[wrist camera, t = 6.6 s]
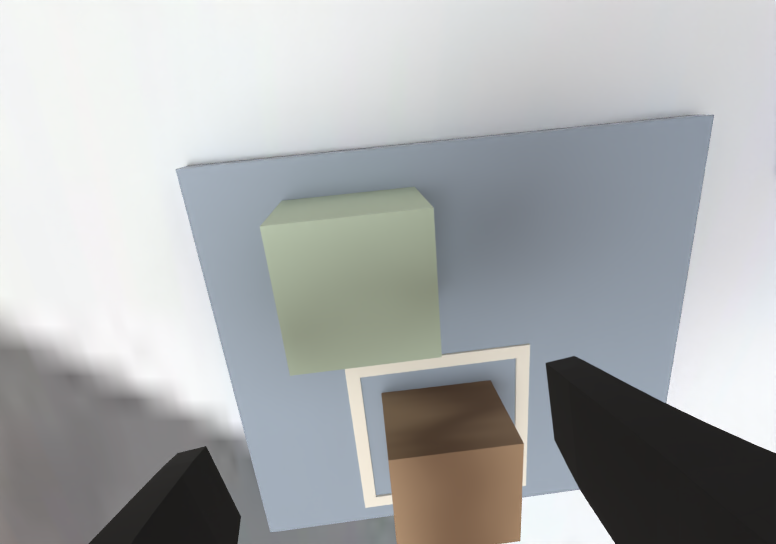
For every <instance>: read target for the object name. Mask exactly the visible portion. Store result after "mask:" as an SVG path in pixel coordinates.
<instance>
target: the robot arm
mask: <svg viewBox="0 0 776 544" xmlns="http://www.w3.org/2000/svg"><path fill="white" fill-rule="evenodd" d="M545 364H546V372H547V381H548V390H549V398H550V407H551V415H552V424H553V433H554V440H555V442H556V444H557V446H558V448H559V450H560V452H561V454H562V456H563V458H564V460H565V462H566V464H567V466H568V468H569V470H570V472H571V474H572V476H573V478H574V480H575V482H576V483H577V485H578V487H579V489H580V490H581V492H582V493H583V495H584V497H585V498H586V500H587V501H588V503H589V504H590V506H591V507H592V509H593V510H594V512H595V513H596V515H597V516H598V518H599V520H600V521H601V523H602V524H603V526H604V527H605V529H606V530H607V532H608V533H609V535H610V536H611V538H612V539H613V541H614V542H615V544H776V453H773V452H771V451H769V450H766V449H764V448H761V447H759V446H757V445H754V444H752V443H750V442H748V441H746V440H743V439H741V438H739V437H737V436H734V435H732V434H730V433H728V432H725V431H723V430H721V429H719V428H716V427H714V426H712V425H710V424H708V423H706V422H703V421H701V420H699V419H697V418H695V417H693V416H691V415H689V414H687V413H685V412H683V411H680V410H678V409H676V408H674V407H672V406H670V405H668V404H666V403H664V402H662V401H660V400H658V399H656V398H654V397H652V396H650V395H649V394H647V393H645V392H643V391H641V390H639V389H637V388H635V387H633V386H631V385H629V384H627V383H626V382H624V381H622V380H620V379H618V378H616V377H614V376H612V375H610V374H609V373H607V372H605V371H603V370H601V369H599V368H597V367H595V366H593V365H592V364H590V363H588V362H586V361H584V360H582V359H580V358H578V357H576V356H572V357H568V358H564V359H559V360H555V361H551V362H547V363H545ZM240 519H241V516H240V514H239V512H238V510H237V508H236V506H235V504H234V502H233V500H232V498H231V496H230V494H229V492H228V490H227V488H226V486H225V484H224V482H223V479H222V477H221V475H220V473H219V471H218V469H217V467H216V465H215V463H214V461H213V459H212V457H211V455H210V453H209V451H208V449H207V447H206V446H205V447H201V448H197V449H193V450H189V451H185V452H181V453H177V454H176V455H175V456H174V457H173V458H172V459H171V460H170V461H169V462H168V463H167V464H166V465H165V466H164V467H162V468H161V469H160V470H159V471H158V472H157V473H156V474H155V475H154V477H153V478H152V479H151V480H150V481H149V482H148V483H147V484H146V485H145V486H144V487H143V488H142V489H141V490H140V491H139V492H138V493H137V494H136V495H135V496H134V497H133V498H132V499H131V500H130V501H129V502H128V503H127V504H126V506H125V507H124V508H123V509H122V510H121V511H120V512H119V513H118V514H117V515H116V516H115V517H114V518H113V519H112V520H111V521H110V522H109V523H108V524H107V525H106V526H105V527H104V528H103V529H102V530H101V532H100V533H99V534H98V535H97V536H96V537H95V538H94V539H93V540H92V541H91V542H90V543H89V544H237V543H238V535H239V527H240Z"/></svg>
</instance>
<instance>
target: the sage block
mask: <svg viewBox="0 0 776 544" xmlns="http://www.w3.org/2000/svg"><path fill="white" fill-rule="evenodd" d="M260 231H261V236H262V241H263V246H264V251H265V255H266V260H267V265H268V270H269V275H270V280H271V285H272V290H273V295H274V300H275V305H276V310H277V315H278V320H279V324H280V329H281V334H282V339H283V344H284V349H285V354H286V359H287V364H288V369H289V374H290V376H293V375H301V374H309V373H317V372H325V371H333V370H342V369H350V368H358V367H366V366H374V365H382V364H390V363H398V362H406V361H415V360H423V359H431V358H439V357H442V351H441V332H440V314H439V296H438V277H437V259H436V241H435V222H434V207H433V206H432V205H431V204H430V203H429V202H428V201H427V200H426V199H425V198H424V196H423V195H422V194H421V193H420V192H419V191H418V190H417V189H416V188H415V187H407V188H397V189H388V190H378V191H369V192H359V193H350V194H340V195H331V196H321V197H312V198H302V199H293V200H284V201H281V202H280V203H279V204H278V206H277V207H276V208H275V209H274V210H273V211H272V213H271V214H270V215H269V216H268V217H267V218H266V220H265V221H264V222H263V223H262V224H261V225H260Z"/></svg>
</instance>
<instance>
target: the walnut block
mask: <svg viewBox="0 0 776 544" xmlns="http://www.w3.org/2000/svg"><path fill="white" fill-rule="evenodd" d="M381 395H382V405H383V415H384V424H385V434H386V444H387V453H388V463H389V473H390V482H391V492H392V501H393V511H394V520H395V530H396V539H397V544H502V543H509V542H516V541H520V533H521V508H522V482H523V456H524V443H523V441H522V439H521V437H520V435H519V433H518V431H517V429H516V427H515V426H514V424H513V422H512V420H511V418H510V416H509V414H508V412H507V410H506V409H505V407H504V405H503V403H502V401H501V399H500V397H499V395H498V393H497V391H496V390H495V388H494V386H493V384H492V382H491V380H488V381H479V382H471V383H462V384H453V385H445V386H436V387H428V388H419V389H411V390H402V391H394V392H385V393H381Z"/></svg>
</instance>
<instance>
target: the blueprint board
mask: <svg viewBox="0 0 776 544" xmlns="http://www.w3.org/2000/svg"><path fill="white" fill-rule="evenodd" d="M713 118H714V115H689V116H679V117H669V118H659V119H649V120H639V121H630V122H620V123H610V124H600V125H590V126H580V127H570V128H560V129H551V130H541V131H531V132H521V133H511V134H501V135H491V136H481V137H471V138H462V139H452V140H442V141H432V142H422V143H412V144H402V145H392V146H382V147H373V148H363V149H353V150H343V151H333V152H323V153H313V154H303V155H293V156H284V157H274V158H264V159H254V160H244V161H234V162H224V163H214V164H205V165H195V166H186V167H182V168H179V169H176V172H177V176H178V180H179V184H180V188H181V192H182V195H183V199H184V203H185V207H186V211H187V214H188V218H189V222H190V226H191V230H192V234H193V237H194V241H195V245H196V249H197V253H198V257H199V260H200V264H201V268H202V272H203V276H204V280H205V283H206V287H207V291H208V295H209V299H210V302H211V306H212V310H213V314H214V318H215V322H216V325H217V329H218V333H219V337H220V341H221V345H222V348H223V352H224V356H225V360H226V364H227V368H228V371H229V375H230V379H231V383H232V387H233V390H234V394H235V398H236V402H237V406H238V410H239V413H240V417H241V421H242V425H243V429H244V433H245V436H246V440H247V444H248V448H249V452H250V455H251V459H252V463H253V467H254V471H255V475H256V478H257V482H258V486H259V490H260V494H261V498H262V501H263V505H264V509H265V513H266V517H267V521H268V524H269V528H270V532H277V531H284V530H291V529H298V528H306V527H313V526H320V525H327V524H334V523H342V522H349V521H356V520H363V519H370V518H378V517H385V516H392V515H394V511H393V501H392V492H391V482H390V473H389V463H388V453H387V444H386V434H385V424H384V415H383V405H382V395H381V393H385V392H394V391H402V390H411V389H419V388H428V387H436V386H445V385H453V384H462V383H471V382H479V381H488V380H491V382H492V384H493V386H494V388H495V390H496V391H497V393H498V395H499V397H500V399H501V401H502V403H503V405H504V407H505V409H506V410H507V412H508V414H509V416H510V418H511V420H512V422H513V424H514V426H515V427H516V429H517V431H518V433H519V435H520V437H521V439H522V441H523V443H524V456H523V482H522V497H529V496H536V495H544V494H551V493H558V492H565V491H573V490H580V489H579V487H578V485H577V483H576V482H575V480H574V478H573V476H572V474H571V472H570V470H569V468H568V466H567V464H566V462H565V460H564V458H563V456H562V454H561V452H560V450H559V448H558V446H557V444H556V442H555V440H554V433H553V424H552V415H551V407H550V398H549V390H548V381H547V372H546V364H545V363H547V362H551V361H555V360H559V359H564V358H568V357H572V356H576V357H578V358H580V359H582V360H584V361H586V362H588V363H590V364H592V365H593V366H595V367H597V368H599V369H601V370H603V371H605V372H607V373H609V374H610V375H612V376H614V377H616V378H618V379H620V380H622V381H624V382H626V383H627V384H629V385H631V386H633V387H635V388H637V389H639V390H641V391H643V392H645V393H647V394H649V395H650V396H652V397H654V398H656V399H658V400H660V401H662V402H664V403H666V401H667V395H668V389H669V383H670V377H671V371H672V365H673V359H674V353H675V347H676V341H677V335H678V329H679V323H680V317H681V311H682V305H683V299H684V293H685V287H686V281H687V275H688V269H689V263H690V257H691V251H692V245H693V239H694V233H695V227H696V220H697V214H698V208H699V202H700V196H701V190H702V184H703V178H704V172H705V166H706V160H707V154H708V148H709V142H710V136H711V130H712V124H713ZM407 187H415V188H416V189H417V190H418V191H419V192H420V193H421V194H422V195H423V196H424V198H425V199H426V200H427V201H428V202H429V203H430V204H431V205H432V206H433V207H434V222H435V241H436V259H437V277H438V296H439V314H440V332H441V351H442V357H439V358H431V359H423V360H415V361H406V362H398V363H390V364H382V365H374V366H366V367H358V368H350V369H342V370H333V371H325V372H317V373H309V374H301V375H293V376H290V374H289V369H288V364H287V359H286V354H285V349H284V344H283V339H282V334H281V329H280V324H279V320H278V315H277V310H276V305H275V300H274V295H273V290H272V285H271V280H270V275H269V270H268V265H267V260H266V255H265V251H264V246H263V241H262V236H261V231H260V225H261V224H262V223H263V222H264V221H265V220H266V218H267V217H268V216H269V215H270V214H271V213H272V211H273V210H274V209H275V208H276V207H277V206H278V204H279V203H280V202H281V201H284V200H293V199H302V198H312V197H321V196H331V195H340V194H350V193H359V192H369V191H378V190H388V189H397V188H407Z"/></svg>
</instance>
